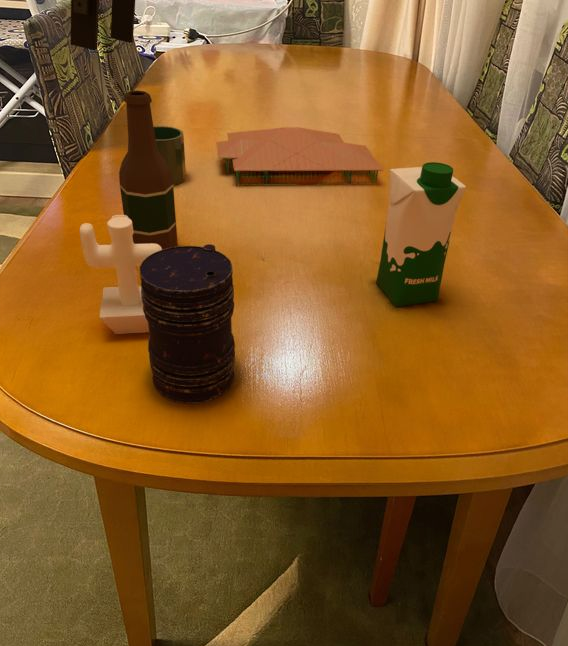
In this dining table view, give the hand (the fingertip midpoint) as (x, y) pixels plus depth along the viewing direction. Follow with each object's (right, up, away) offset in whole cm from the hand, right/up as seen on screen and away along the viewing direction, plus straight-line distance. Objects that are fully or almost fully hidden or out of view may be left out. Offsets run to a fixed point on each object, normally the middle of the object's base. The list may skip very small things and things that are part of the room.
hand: (104, 44), depth 73 cm
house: (+21, +3, +59) cm, 63 cm away
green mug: (-5, -2, +50) cm, 50 cm away
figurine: (+1, -34, +8) cm, 34 cm away
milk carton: (+39, -28, +19) cm, 52 cm away
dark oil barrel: (+11, -40, 0) cm, 42 cm away
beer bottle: (0, -21, +25) cm, 32 cm away
